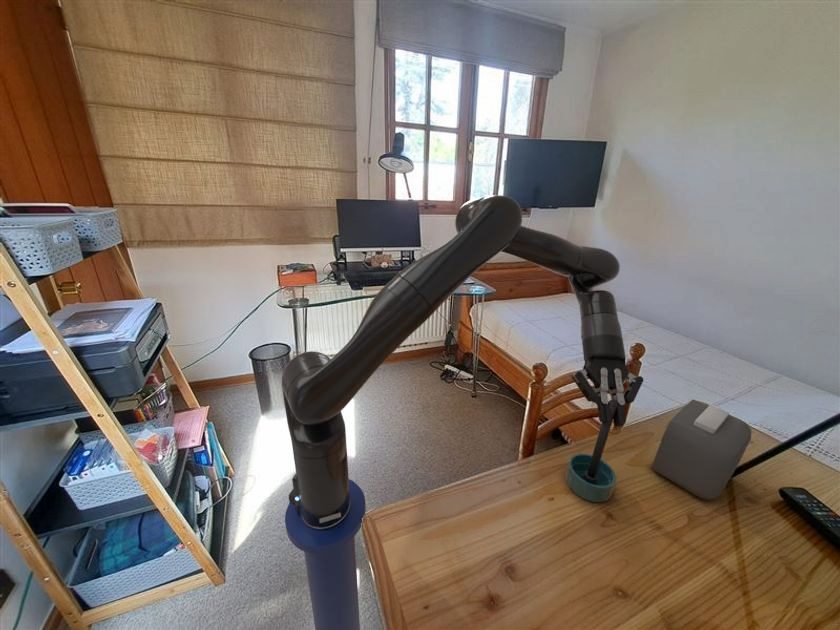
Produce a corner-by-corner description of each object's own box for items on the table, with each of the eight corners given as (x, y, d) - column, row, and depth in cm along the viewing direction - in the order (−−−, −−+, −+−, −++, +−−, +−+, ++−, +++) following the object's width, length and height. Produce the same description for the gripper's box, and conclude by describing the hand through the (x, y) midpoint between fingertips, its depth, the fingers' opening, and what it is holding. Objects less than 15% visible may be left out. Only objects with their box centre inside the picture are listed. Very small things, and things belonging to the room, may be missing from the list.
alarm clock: (676, 443, 85) (697, 392, 79) (734, 473, 77) (762, 418, 71) (648, 473, 76) (670, 417, 70) (710, 511, 68) (740, 450, 62)
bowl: (568, 498, 69) (572, 481, 68) (562, 464, 78) (566, 449, 76) (616, 509, 67) (621, 492, 66) (605, 473, 76) (609, 458, 74)
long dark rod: (587, 489, 71) (612, 405, 63) (579, 479, 73) (602, 397, 65) (598, 487, 71) (624, 404, 63) (589, 477, 74) (614, 396, 66)
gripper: (575, 330, 68) (584, 420, 61) (646, 335, 67) (663, 427, 60) (561, 342, 74) (568, 424, 68) (626, 347, 74) (639, 430, 67)
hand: (613, 425), depth 64 cm, fingers closed on long dark rod
